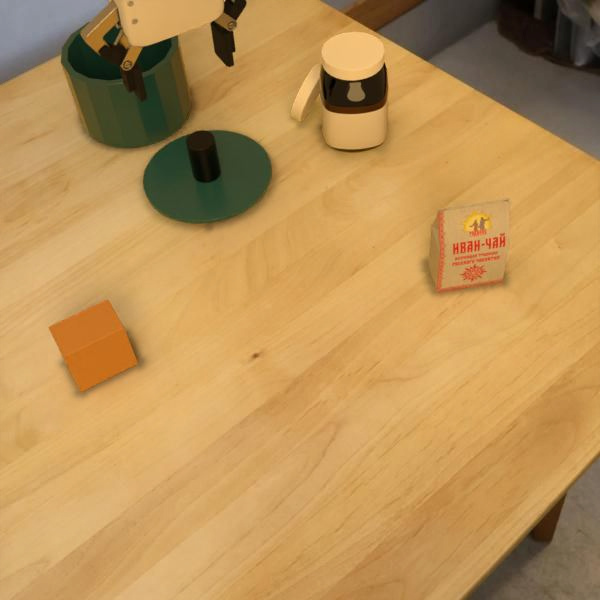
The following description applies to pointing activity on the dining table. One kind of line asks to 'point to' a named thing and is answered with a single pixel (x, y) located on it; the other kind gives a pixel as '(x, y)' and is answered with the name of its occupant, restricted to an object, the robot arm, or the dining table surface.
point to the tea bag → (469, 245)
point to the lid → (207, 176)
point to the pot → (118, 101)
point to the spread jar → (348, 92)
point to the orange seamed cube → (94, 345)
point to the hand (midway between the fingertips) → (182, 76)
